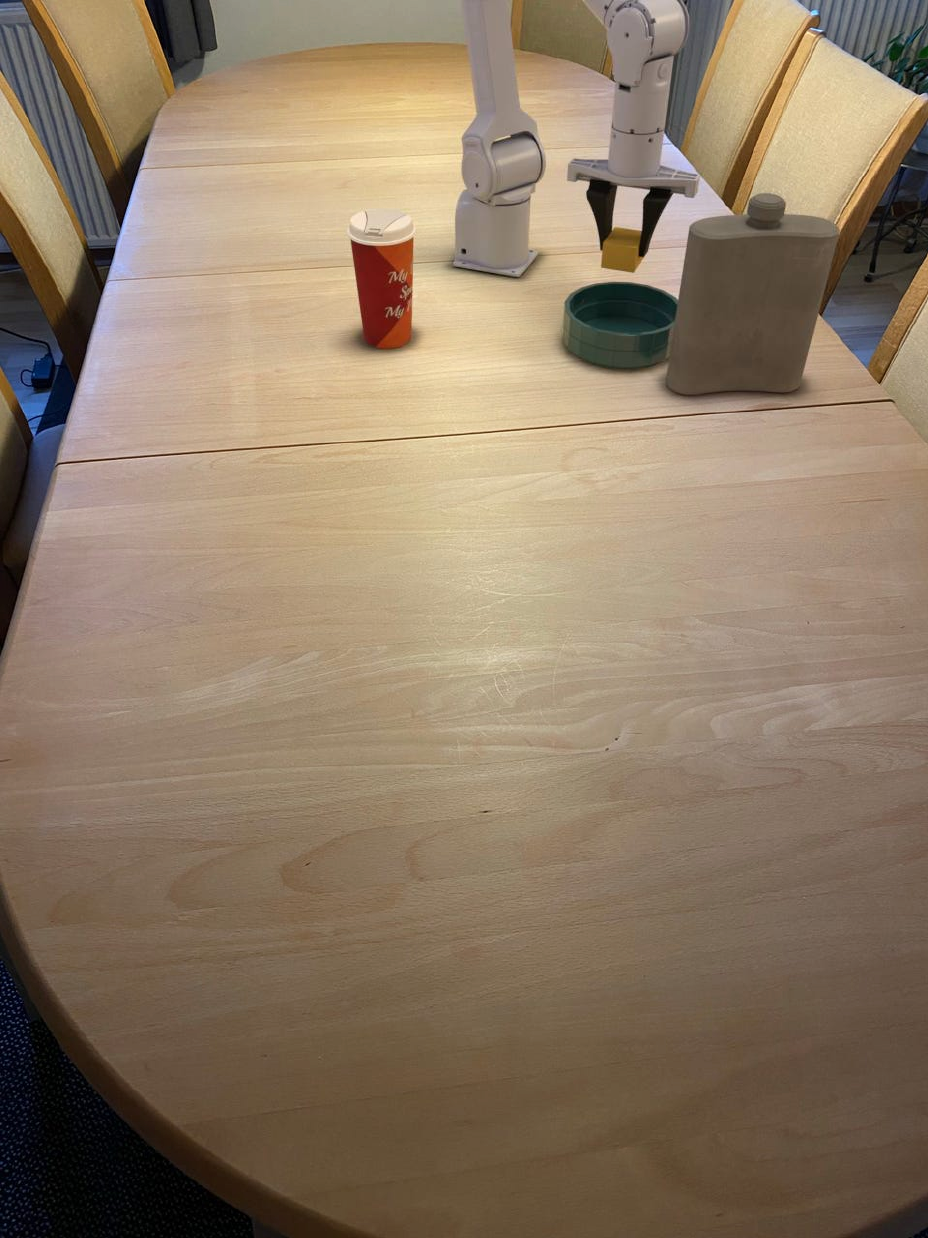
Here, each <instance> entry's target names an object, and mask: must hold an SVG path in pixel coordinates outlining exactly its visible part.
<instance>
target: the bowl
mask: <svg viewBox="0 0 928 1238" xmlns="http://www.w3.org/2000/svg"><path fill="white" fill-rule="evenodd" d="M677 305H678V298H677V297H676V296H674V295H672V294H671V293H669V292H667V291H665V290H664V289H661V288H658V287H655V286H652V285H649V284H643V283H637V282H632V281H631V282H630V281H605V282H596V283H591V284H589V285H585V286H582V287H579V288H578V289H576V290H574V291H572V292H571V293H570V294H569V295H568V296H567V297H566V299H565V300H564V303H563V317H562V330H561V331H562V332H561V334H562V335H561V339H562V340H561V341H562V342H563V344H564V345H565V347H566V348H567V350H568V351H570V352H571V354H573V355H574V356H575V357H576V358H578V359H580V360H581V361H583V362H585V363H588V364H590V365H594V366H596V367H600V368H604V369H610V370H625V371H626V370H628V371H629V370H640V369H645V368H650V367H653V366H657V365H659V364H661V363H663V362H664V361H666V360H667V359H669V356H670V350H671V343H672V337H673V330H674V324H675V318H676V311H677Z"/></svg>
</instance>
